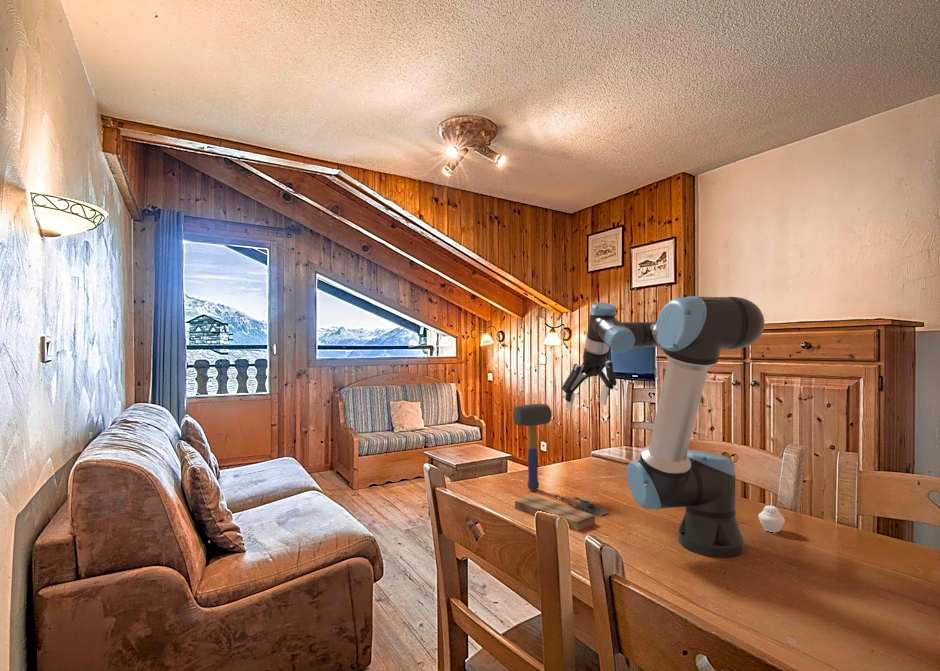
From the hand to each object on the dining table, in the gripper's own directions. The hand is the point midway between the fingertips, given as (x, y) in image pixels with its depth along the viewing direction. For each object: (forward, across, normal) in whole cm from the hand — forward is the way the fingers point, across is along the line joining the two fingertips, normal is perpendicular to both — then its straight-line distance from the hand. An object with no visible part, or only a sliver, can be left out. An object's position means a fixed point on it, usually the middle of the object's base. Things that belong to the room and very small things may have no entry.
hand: (585, 406), depth 168 cm
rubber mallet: (+30, +17, +2) cm, 35 cm away
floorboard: (+20, +24, +24) cm, 39 cm away
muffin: (+10, -25, +56) cm, 62 cm away
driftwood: (+23, +11, +21) cm, 33 cm away
